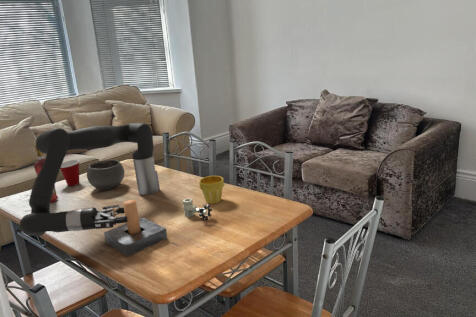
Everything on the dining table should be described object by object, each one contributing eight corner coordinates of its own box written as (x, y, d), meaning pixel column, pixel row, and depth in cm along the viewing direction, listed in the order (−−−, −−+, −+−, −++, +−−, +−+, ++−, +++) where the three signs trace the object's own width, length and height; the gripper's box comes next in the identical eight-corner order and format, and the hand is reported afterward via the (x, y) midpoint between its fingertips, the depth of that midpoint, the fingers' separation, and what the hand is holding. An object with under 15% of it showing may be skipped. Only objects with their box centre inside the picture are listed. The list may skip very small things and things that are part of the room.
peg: (138, 236, 154) (131, 198, 150) (144, 240, 151) (138, 201, 147) (127, 241, 151) (120, 202, 147) (133, 244, 148) (127, 205, 144)
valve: (180, 217, 168) (201, 223, 160) (177, 202, 166) (199, 207, 158) (191, 211, 173) (213, 217, 165) (189, 196, 171) (211, 201, 163)
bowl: (111, 179, 221) (107, 156, 218) (134, 184, 211) (130, 160, 207) (82, 191, 208) (77, 166, 204) (105, 196, 197) (100, 171, 194)
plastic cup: (61, 183, 222) (57, 162, 219) (83, 179, 226) (78, 158, 222) (62, 189, 212) (57, 167, 209) (84, 185, 216) (80, 163, 213)
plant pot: (211, 207, 174) (209, 185, 171) (196, 201, 182) (194, 180, 179) (230, 199, 180) (228, 178, 178) (215, 194, 188) (213, 173, 185)
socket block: (143, 226, 162) (142, 217, 161) (167, 238, 151) (165, 228, 149) (105, 242, 152) (103, 232, 151) (127, 256, 140) (125, 245, 139)
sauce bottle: (47, 198, 201) (33, 142, 193) (61, 197, 201) (49, 141, 193) (39, 204, 194) (25, 146, 186) (55, 203, 194) (41, 145, 186)
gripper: (74, 218, 139) (124, 212, 140) (85, 201, 153) (130, 196, 154) (79, 238, 141) (127, 232, 142) (89, 220, 155) (133, 215, 156)
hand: (129, 214), depth 148 cm, fingers open, 8 cm apart
